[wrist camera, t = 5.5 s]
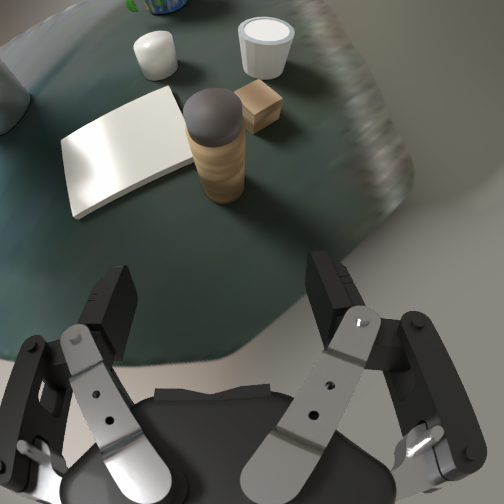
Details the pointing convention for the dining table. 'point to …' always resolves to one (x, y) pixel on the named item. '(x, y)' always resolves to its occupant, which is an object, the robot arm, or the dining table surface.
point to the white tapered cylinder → (265, 46)
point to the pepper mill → (217, 142)
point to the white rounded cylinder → (156, 55)
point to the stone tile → (124, 151)
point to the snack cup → (157, 5)
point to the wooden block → (259, 105)
